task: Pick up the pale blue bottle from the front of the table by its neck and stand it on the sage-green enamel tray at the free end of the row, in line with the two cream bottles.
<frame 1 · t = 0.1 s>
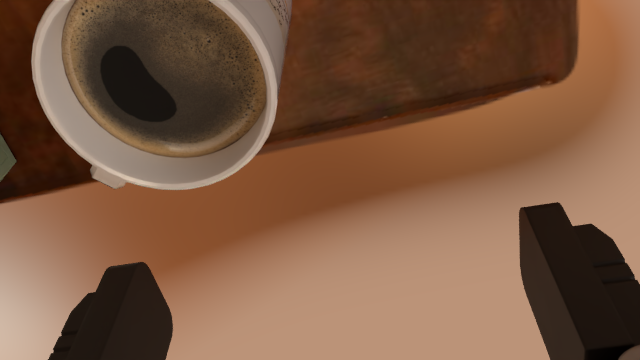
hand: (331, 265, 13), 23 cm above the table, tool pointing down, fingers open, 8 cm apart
mug: (189, 14, 33), on the table
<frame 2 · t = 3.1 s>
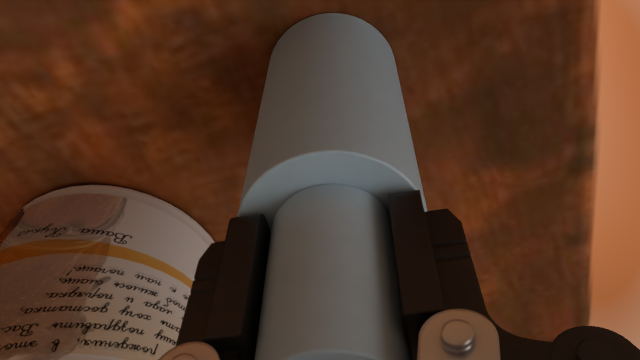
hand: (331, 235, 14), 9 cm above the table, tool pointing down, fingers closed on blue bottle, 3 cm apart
blue bottle: (332, 74, 21), on the table, touching gripper
mug: (103, 281, 27), on the table
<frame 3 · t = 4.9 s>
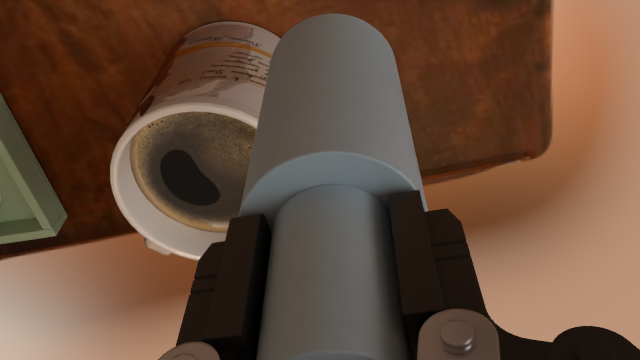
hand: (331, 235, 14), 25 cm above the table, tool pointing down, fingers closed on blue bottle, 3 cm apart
blue bottle: (332, 75, 21), point 16 cm above the table, touching gripper
mug: (223, 100, 40), on the table
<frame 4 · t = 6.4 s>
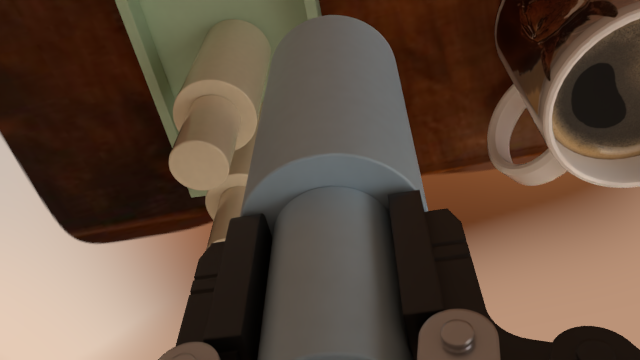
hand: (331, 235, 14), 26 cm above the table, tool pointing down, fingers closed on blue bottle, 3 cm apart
blue bottle: (333, 76, 21), point 17 cm above the table, touching gripper
cream bottle 1: (236, 52, 38), point 1 cm above the table, touching tray
tray: (238, 48, 38), on the table
mug: (555, 29, 37), on the table
cream bottle 2: (258, 129, 41), point 1 cm above the table, touching tray
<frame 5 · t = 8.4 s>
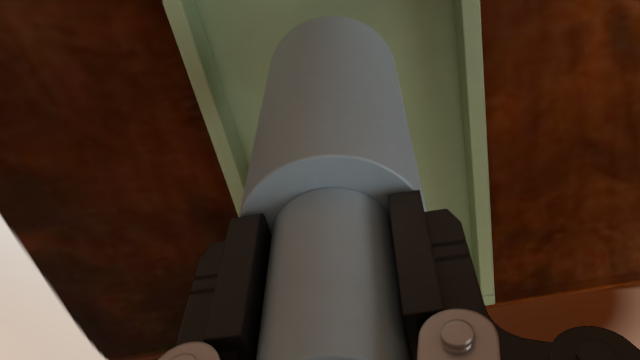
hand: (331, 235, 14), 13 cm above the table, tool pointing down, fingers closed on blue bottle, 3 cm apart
blue bottle: (332, 77, 21), point 5 cm above the table, touching gripper
tray: (353, 142, 28), on the table
when the fingers open (9 cm above the table, at t = 9.8 s): blue bottle stays where it is, resting on tray.
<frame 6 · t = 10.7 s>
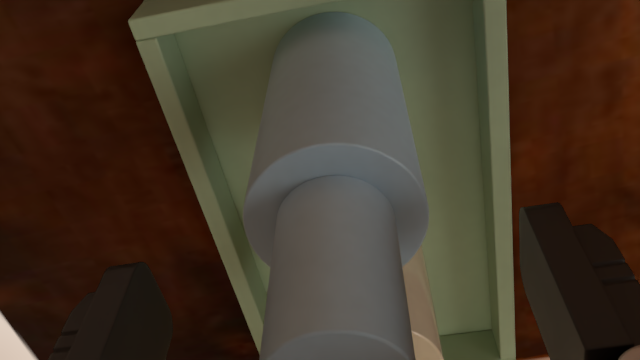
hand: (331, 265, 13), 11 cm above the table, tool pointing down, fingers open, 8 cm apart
blue bottle: (334, 72, 21), point 1 cm above the table, touching tray
cream bottle 1: (358, 200, 24), point 1 cm above the table, touching tray
tray: (357, 192, 25), on the table
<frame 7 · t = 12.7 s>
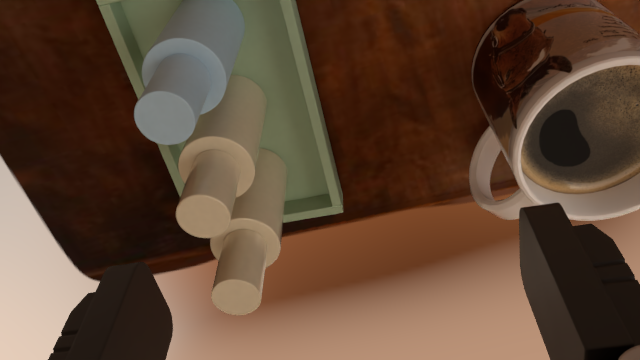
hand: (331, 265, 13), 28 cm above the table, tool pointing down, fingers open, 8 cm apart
blue bottle: (210, 24, 38), point 1 cm above the table, touching tray
cream bottle 1: (235, 103, 41), point 1 cm above the table, touching tray
tray: (236, 100, 42), on the table
mug: (528, 72, 40), on the table
cream bottle 2: (258, 172, 44), point 1 cm above the table, touching tray
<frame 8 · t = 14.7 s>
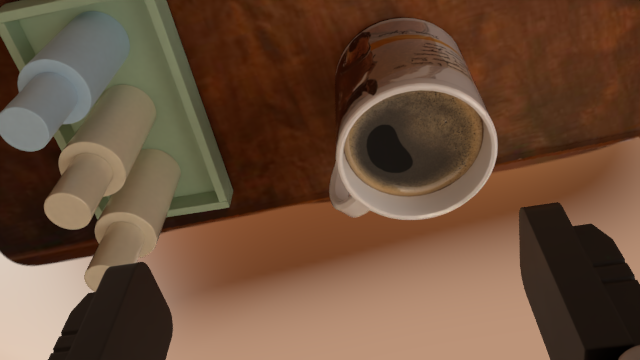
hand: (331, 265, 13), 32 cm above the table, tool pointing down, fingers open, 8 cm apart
blue bottle: (99, 40, 43), point 1 cm above the table, touching tray
cream bottle 1: (128, 109, 46), point 1 cm above the table, touching tray
tray: (130, 106, 47), on the table
mug: (386, 86, 46), on the table
cream bottle 2: (154, 170, 50), point 1 cm above the table, touching tray
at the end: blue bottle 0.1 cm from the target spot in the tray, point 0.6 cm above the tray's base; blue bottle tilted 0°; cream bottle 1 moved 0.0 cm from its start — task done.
